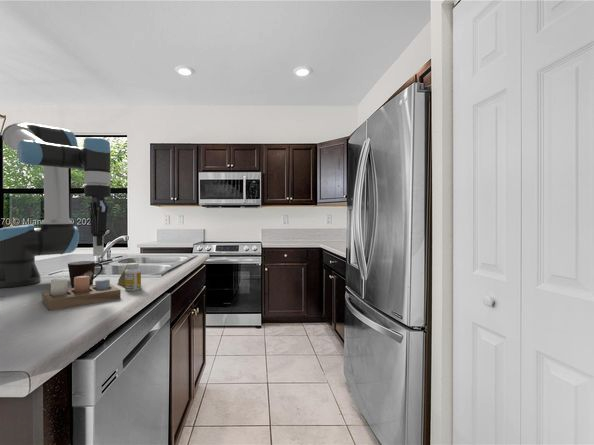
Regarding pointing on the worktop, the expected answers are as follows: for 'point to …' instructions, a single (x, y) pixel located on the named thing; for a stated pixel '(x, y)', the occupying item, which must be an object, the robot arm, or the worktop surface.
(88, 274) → the coffee mug
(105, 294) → the brown wooden flat block
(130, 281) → the supplement bottle
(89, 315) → the worktop surface
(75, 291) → the peach oval egg shape
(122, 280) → the rock
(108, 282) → the pale blue egg
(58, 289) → the off-white egg
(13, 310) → the worktop surface
